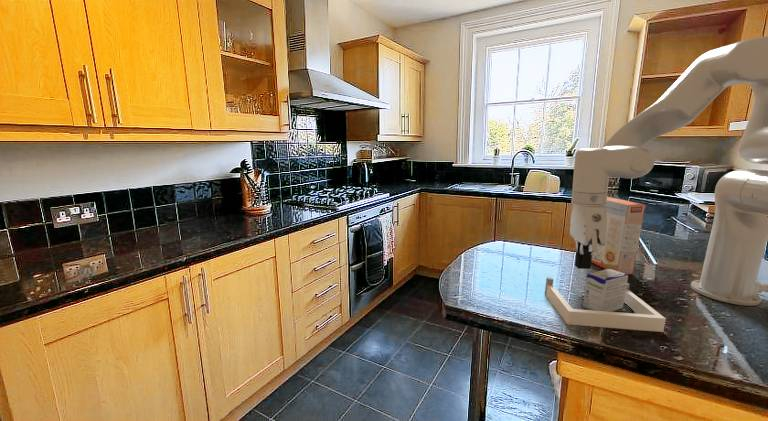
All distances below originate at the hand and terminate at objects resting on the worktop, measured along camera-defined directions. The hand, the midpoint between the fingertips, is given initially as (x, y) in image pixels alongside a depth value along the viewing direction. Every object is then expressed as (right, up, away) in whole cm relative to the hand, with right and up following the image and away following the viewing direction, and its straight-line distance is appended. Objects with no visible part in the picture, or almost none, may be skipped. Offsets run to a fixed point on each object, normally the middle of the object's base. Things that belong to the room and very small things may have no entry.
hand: (582, 267), depth 87 cm
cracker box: (+17, -3, +16) cm, 24 cm away
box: (-1, -8, -9) cm, 12 cm away
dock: (-3, -8, -11) cm, 14 cm away
